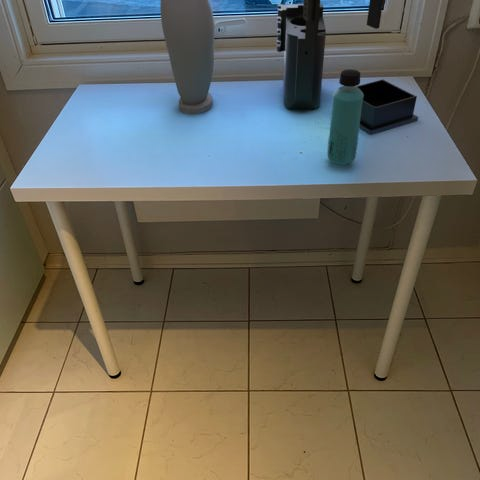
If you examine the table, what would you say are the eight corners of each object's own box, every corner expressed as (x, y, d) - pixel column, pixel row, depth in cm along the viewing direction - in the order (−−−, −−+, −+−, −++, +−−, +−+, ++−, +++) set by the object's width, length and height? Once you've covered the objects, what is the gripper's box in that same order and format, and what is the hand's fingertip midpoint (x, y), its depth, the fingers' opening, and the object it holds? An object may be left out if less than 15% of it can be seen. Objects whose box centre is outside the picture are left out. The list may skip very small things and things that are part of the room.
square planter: (417, 120, 132) (422, 97, 128) (370, 135, 127) (374, 110, 123) (379, 100, 141) (383, 77, 137) (334, 112, 137) (336, 89, 132)
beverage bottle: (361, 164, 117) (375, 72, 103) (338, 173, 115) (350, 80, 101) (341, 153, 121) (352, 63, 107) (319, 162, 119) (327, 70, 104)
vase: (215, 116, 137) (205, -44, 112) (166, 115, 138) (146, -43, 113) (221, 95, 146) (213, -56, 121) (175, 95, 147) (159, -55, 122)
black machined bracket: (316, 83, 150) (323, -4, 135) (321, 114, 136) (329, 21, 120) (275, 84, 151) (277, -3, 135) (275, 115, 136) (278, 22, 121)
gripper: (406, -130, 85) (383, 16, 100) (275, -116, 77) (272, 40, 92) (439, -126, 80) (410, 26, 95) (303, -111, 72) (295, 52, 87)
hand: (342, 33), depth 94 cm, fingers open, 13 cm apart
